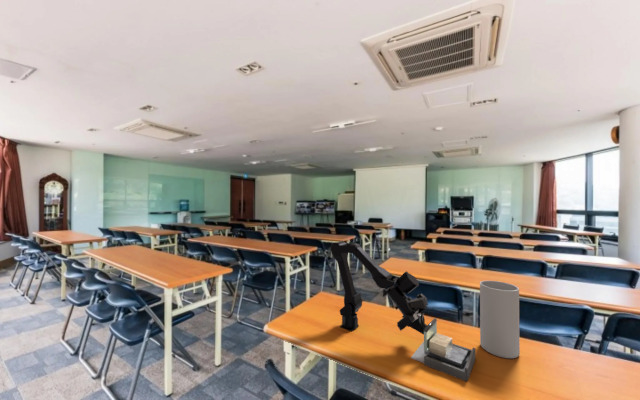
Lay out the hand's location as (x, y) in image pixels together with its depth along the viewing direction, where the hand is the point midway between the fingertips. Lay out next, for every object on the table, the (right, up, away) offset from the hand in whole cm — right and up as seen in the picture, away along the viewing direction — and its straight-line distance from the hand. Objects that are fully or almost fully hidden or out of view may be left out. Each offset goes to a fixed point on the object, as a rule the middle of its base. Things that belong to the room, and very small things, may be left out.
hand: (428, 336), depth 96 cm
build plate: (+6, -8, +24) cm, 26 cm away
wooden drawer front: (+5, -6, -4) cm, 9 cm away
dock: (+4, -8, -3) cm, 9 cm away
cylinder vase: (+29, -7, +3) cm, 30 cm away
